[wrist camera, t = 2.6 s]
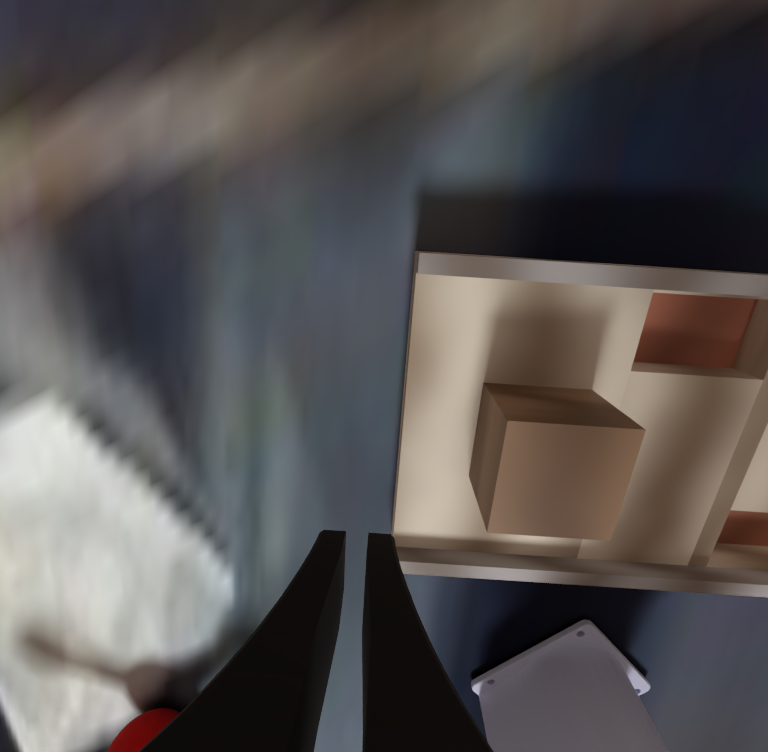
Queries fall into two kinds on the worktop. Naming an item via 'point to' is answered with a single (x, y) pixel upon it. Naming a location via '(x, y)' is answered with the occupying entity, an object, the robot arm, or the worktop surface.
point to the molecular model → (142, 730)
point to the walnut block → (551, 461)
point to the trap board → (616, 385)
